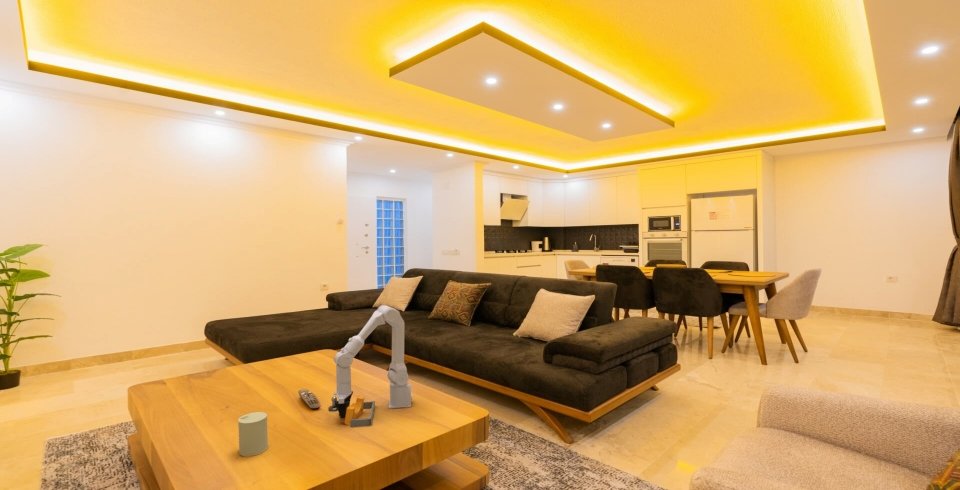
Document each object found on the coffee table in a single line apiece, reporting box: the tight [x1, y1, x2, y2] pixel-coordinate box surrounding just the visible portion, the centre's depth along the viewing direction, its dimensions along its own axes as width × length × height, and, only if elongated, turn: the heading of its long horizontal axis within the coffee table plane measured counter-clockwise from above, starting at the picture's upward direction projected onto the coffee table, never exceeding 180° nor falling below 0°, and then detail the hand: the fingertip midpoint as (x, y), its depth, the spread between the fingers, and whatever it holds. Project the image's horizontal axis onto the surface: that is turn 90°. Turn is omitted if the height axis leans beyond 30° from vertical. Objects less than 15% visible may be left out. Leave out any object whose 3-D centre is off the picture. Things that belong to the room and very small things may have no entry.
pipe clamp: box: [344, 395, 365, 426], centre depth 178 cm, size 12×4×6 cm, turn 174°
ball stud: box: [327, 395, 338, 412], centre depth 187 cm, size 5×5×6 cm
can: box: [237, 411, 269, 457], centre depth 153 cm, size 9×9×12 cm
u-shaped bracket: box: [350, 401, 376, 428], centre depth 179 cm, size 8×18×3 cm, turn 9°
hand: (344, 414), depth 178 cm, fingers open, 7 cm apart
